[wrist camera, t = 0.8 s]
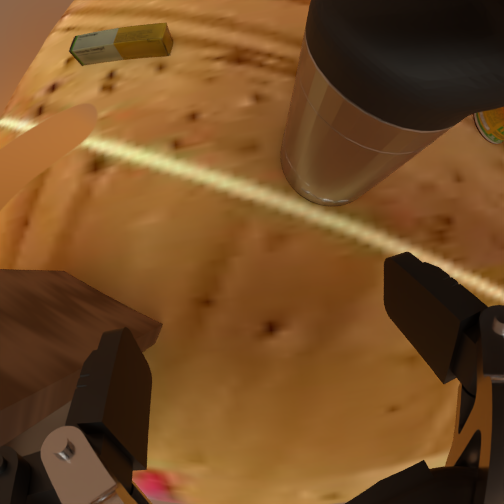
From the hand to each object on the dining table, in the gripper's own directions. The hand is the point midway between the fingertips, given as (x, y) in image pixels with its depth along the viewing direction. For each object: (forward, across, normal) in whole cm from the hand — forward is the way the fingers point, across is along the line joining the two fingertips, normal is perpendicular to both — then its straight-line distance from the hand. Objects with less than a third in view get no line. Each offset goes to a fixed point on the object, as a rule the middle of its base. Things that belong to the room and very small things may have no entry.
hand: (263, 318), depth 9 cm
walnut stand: (+16, +18, +14) cm, 28 cm away
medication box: (+32, +7, -16) cm, 37 cm away
